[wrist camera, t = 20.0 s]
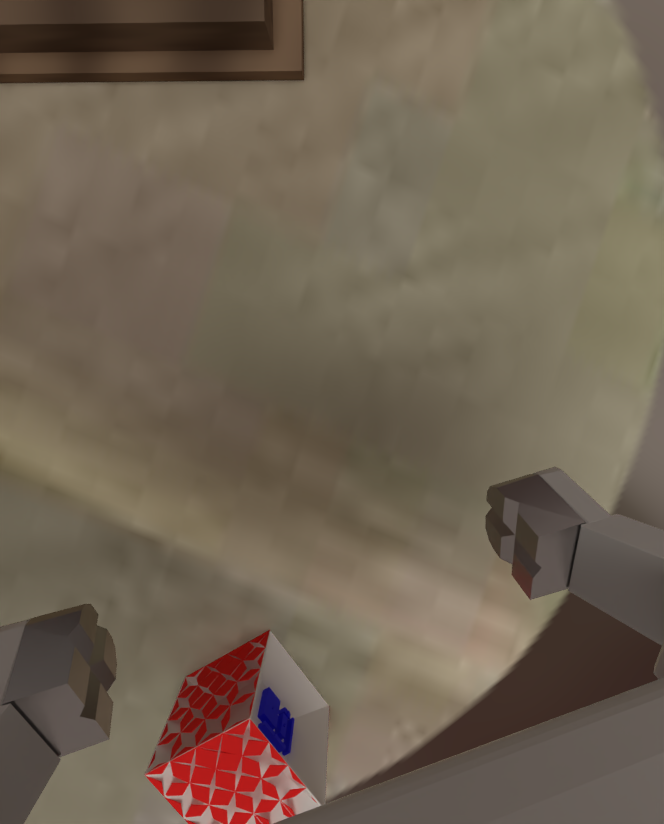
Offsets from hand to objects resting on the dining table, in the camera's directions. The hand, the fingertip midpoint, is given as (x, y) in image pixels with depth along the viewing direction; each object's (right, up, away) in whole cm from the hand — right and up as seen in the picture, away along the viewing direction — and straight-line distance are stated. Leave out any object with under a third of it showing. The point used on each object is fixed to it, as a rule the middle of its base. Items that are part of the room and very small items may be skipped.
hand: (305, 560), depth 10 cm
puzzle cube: (-5, -18, +28) cm, 34 cm away
